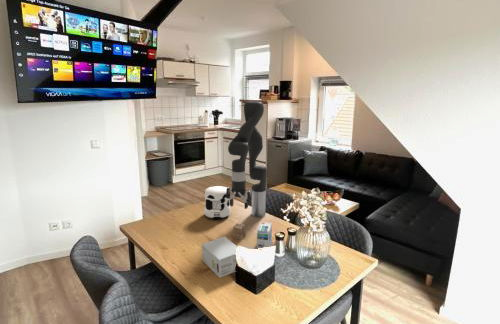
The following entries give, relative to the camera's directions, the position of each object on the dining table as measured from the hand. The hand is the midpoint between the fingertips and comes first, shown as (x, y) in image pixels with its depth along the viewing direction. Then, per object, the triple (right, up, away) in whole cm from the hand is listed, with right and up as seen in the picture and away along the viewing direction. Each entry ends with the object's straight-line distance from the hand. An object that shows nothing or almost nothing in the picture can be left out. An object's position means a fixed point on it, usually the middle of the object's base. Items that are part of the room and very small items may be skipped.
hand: (238, 207), depth 160 cm
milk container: (-15, -11, +33) cm, 38 cm away
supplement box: (-7, -24, -22) cm, 33 cm away
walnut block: (0, -18, +4) cm, 18 cm away
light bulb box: (+14, -20, -4) cm, 25 cm away
